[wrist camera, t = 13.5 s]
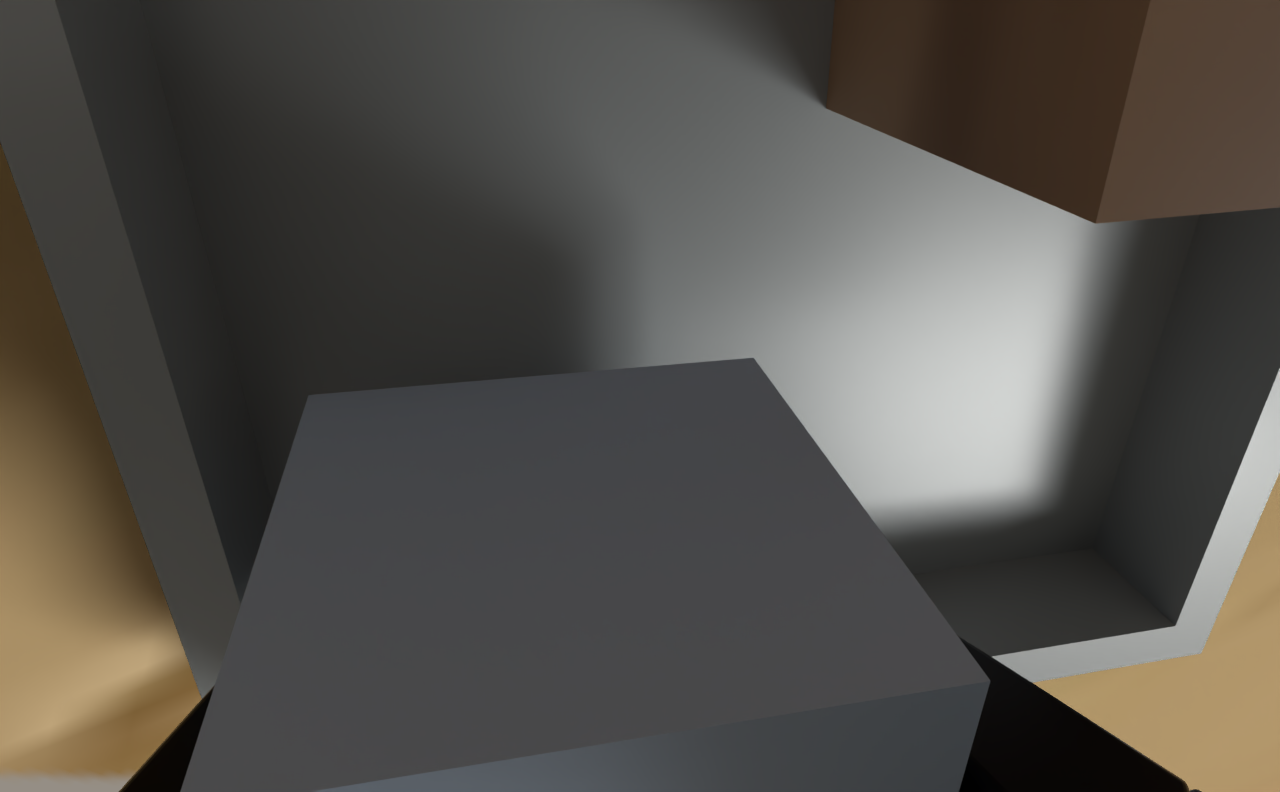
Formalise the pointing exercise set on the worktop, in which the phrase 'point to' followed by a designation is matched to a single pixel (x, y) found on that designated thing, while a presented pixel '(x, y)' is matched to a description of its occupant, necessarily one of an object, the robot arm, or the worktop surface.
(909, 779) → the slate block
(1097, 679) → the worktop surface
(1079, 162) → the walnut block
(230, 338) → the tray
